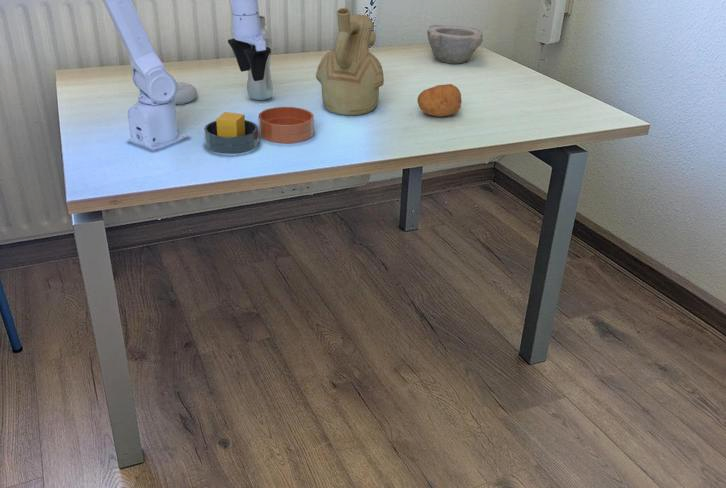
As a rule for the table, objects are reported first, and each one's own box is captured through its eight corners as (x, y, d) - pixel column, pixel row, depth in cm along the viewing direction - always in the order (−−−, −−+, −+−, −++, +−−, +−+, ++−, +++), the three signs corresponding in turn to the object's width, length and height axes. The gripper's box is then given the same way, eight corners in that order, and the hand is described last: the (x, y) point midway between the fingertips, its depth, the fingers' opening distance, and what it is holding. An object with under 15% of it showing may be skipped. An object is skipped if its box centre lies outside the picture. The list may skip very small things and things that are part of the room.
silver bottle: (260, 92, 173) (257, 12, 163) (278, 98, 170) (277, 17, 159) (241, 98, 169) (237, 16, 159) (260, 104, 165) (256, 21, 155)
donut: (148, 104, 163) (187, 107, 161) (146, 90, 161) (185, 93, 159) (167, 92, 171) (204, 95, 169) (165, 78, 169) (202, 82, 168)
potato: (466, 120, 162) (470, 90, 158) (423, 123, 159) (426, 92, 155) (452, 107, 169) (456, 78, 165) (410, 110, 166) (413, 80, 163)
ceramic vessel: (390, 100, 172) (397, -2, 160) (371, 125, 156) (376, 14, 143) (328, 92, 176) (329, -8, 163) (302, 116, 160) (301, 7, 147)
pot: (233, 160, 136) (232, 141, 134) (194, 146, 141) (193, 128, 139) (269, 144, 144) (268, 126, 142) (231, 132, 149) (230, 115, 147)
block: (237, 148, 140) (236, 121, 137) (218, 145, 140) (216, 118, 137) (245, 141, 143) (244, 114, 140) (226, 138, 144) (224, 111, 141)
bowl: (290, 150, 141) (290, 129, 139) (247, 136, 147) (247, 116, 145) (324, 134, 150) (324, 114, 148) (283, 121, 156) (282, 103, 153)
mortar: (478, 55, 215) (482, 25, 210) (479, 69, 200) (483, 38, 196) (426, 51, 217) (429, 22, 212) (423, 65, 202) (426, 34, 197)
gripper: (276, 17, 138) (281, 81, 146) (249, 3, 149) (255, 63, 156) (245, 22, 135) (251, 87, 143) (219, 7, 146) (227, 68, 153)
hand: (251, 75), depth 149 cm, fingers open, 7 cm apart
